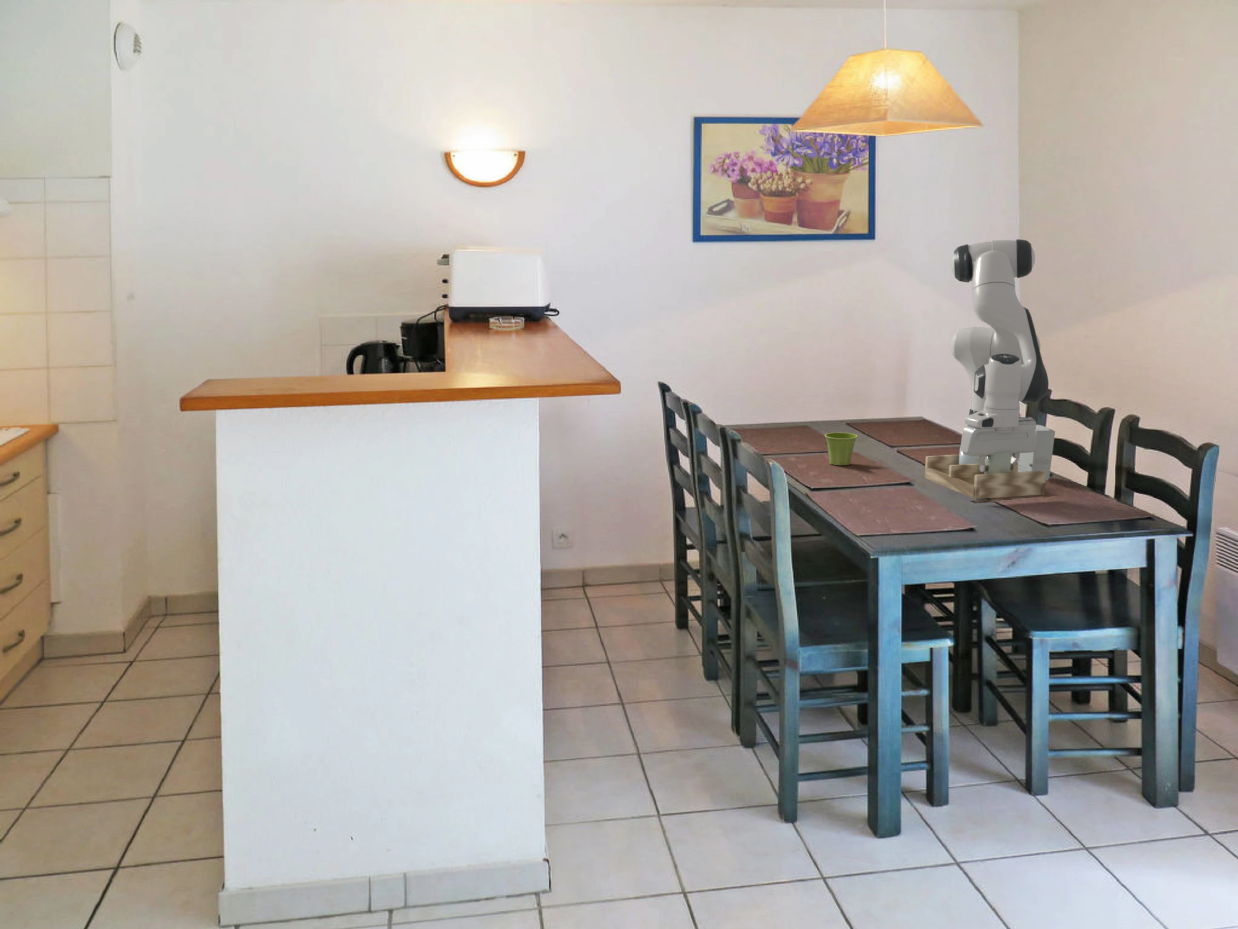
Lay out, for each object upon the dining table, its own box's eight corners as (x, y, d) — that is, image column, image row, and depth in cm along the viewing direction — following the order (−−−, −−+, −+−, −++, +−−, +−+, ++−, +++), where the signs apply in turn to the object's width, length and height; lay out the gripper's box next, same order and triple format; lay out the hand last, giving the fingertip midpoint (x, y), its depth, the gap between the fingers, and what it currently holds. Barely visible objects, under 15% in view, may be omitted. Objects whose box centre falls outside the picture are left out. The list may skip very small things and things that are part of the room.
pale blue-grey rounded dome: (973, 477, 305) (976, 445, 304) (987, 482, 299) (989, 449, 297) (953, 478, 304) (955, 446, 302) (966, 484, 298) (968, 451, 296)
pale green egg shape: (999, 481, 294) (1002, 447, 292) (1014, 486, 288) (1016, 452, 286) (978, 482, 292) (980, 448, 290) (992, 487, 286) (994, 453, 284)
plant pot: (856, 468, 323) (857, 438, 321) (823, 466, 325) (824, 437, 323) (856, 461, 332) (857, 433, 330) (823, 460, 334) (825, 431, 332)
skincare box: (1015, 476, 312) (1019, 424, 309) (1034, 475, 314) (1039, 423, 310) (1031, 483, 304) (1035, 429, 301) (1051, 482, 305) (1055, 429, 302)
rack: (988, 478, 310) (990, 452, 309) (1043, 498, 287) (1046, 471, 285) (924, 482, 305) (925, 456, 304) (975, 503, 282) (977, 475, 280)
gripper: (1028, 414, 292) (1024, 466, 295) (959, 417, 287) (955, 470, 290) (1043, 418, 286) (1039, 471, 289) (972, 421, 281) (969, 475, 284)
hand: (996, 470), depth 289 cm, fingers closed on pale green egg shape, 6 cm apart
